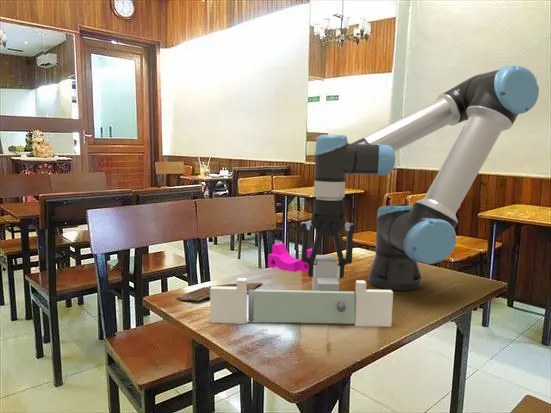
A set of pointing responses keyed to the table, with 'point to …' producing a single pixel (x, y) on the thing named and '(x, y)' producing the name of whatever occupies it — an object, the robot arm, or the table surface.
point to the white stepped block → (326, 273)
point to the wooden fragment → (205, 292)
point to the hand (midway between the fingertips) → (325, 289)
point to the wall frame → (368, 312)
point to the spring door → (301, 306)
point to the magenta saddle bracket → (286, 259)
